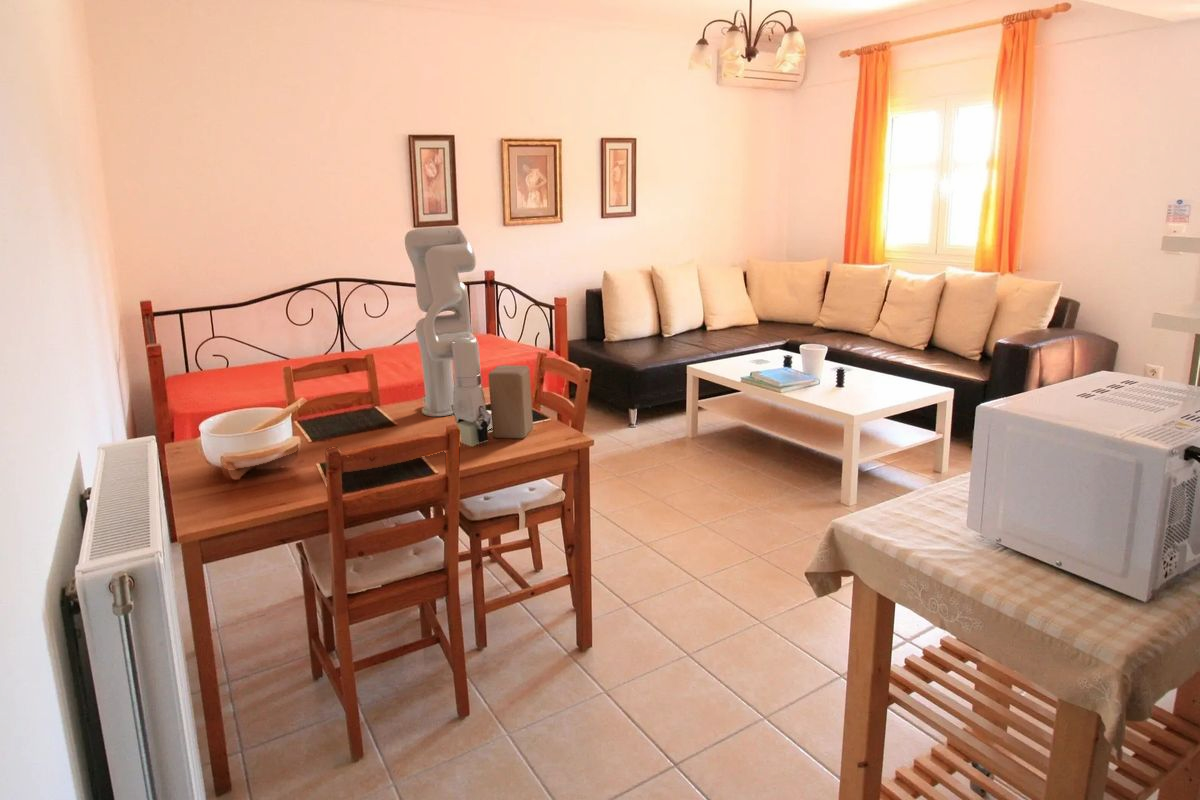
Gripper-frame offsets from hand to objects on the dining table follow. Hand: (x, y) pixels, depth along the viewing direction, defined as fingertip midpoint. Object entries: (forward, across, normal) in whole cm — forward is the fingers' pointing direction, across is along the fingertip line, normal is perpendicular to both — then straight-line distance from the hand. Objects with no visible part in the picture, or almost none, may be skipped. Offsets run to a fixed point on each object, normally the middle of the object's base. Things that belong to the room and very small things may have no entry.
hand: (472, 437), depth 220 cm
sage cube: (+1, 0, 0) cm, 1 cm away
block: (+2, +4, +12) cm, 13 cm away
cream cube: (+1, -7, +10) cm, 12 cm away
